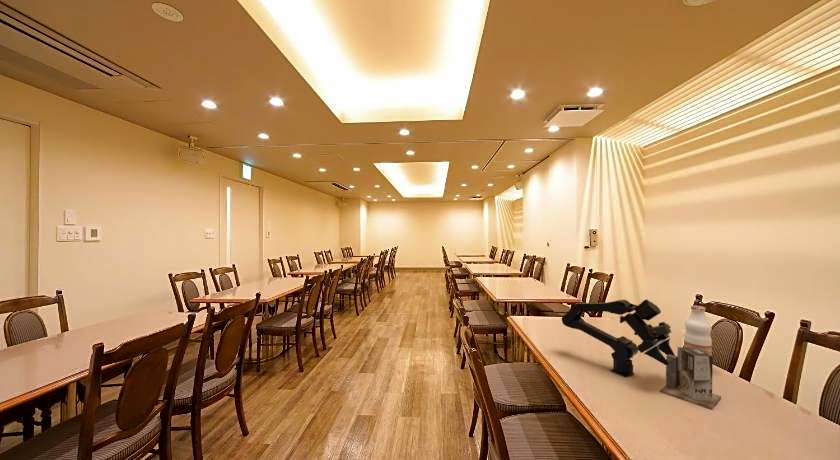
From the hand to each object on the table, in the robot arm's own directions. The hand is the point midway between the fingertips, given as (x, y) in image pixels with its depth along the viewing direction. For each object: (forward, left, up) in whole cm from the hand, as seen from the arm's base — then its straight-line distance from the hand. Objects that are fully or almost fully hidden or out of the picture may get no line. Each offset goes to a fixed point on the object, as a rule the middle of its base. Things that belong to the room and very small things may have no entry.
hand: (671, 361), depth 124 cm
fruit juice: (-6, +31, -11) cm, 34 cm away
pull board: (+6, +1, -10) cm, 12 cm away
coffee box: (+7, +1, -10) cm, 12 cm away
